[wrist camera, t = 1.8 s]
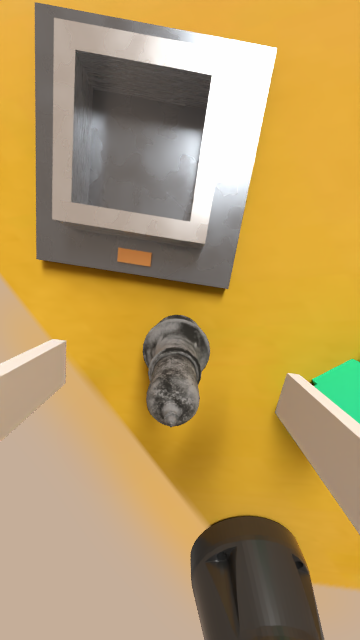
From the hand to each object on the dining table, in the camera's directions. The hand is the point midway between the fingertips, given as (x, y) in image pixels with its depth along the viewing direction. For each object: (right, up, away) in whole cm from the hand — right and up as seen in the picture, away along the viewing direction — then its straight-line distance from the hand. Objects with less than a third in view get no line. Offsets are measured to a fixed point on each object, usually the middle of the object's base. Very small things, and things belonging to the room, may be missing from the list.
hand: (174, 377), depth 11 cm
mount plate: (-3, +17, +5) cm, 18 cm away
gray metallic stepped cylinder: (0, +1, +9) cm, 9 cm away
